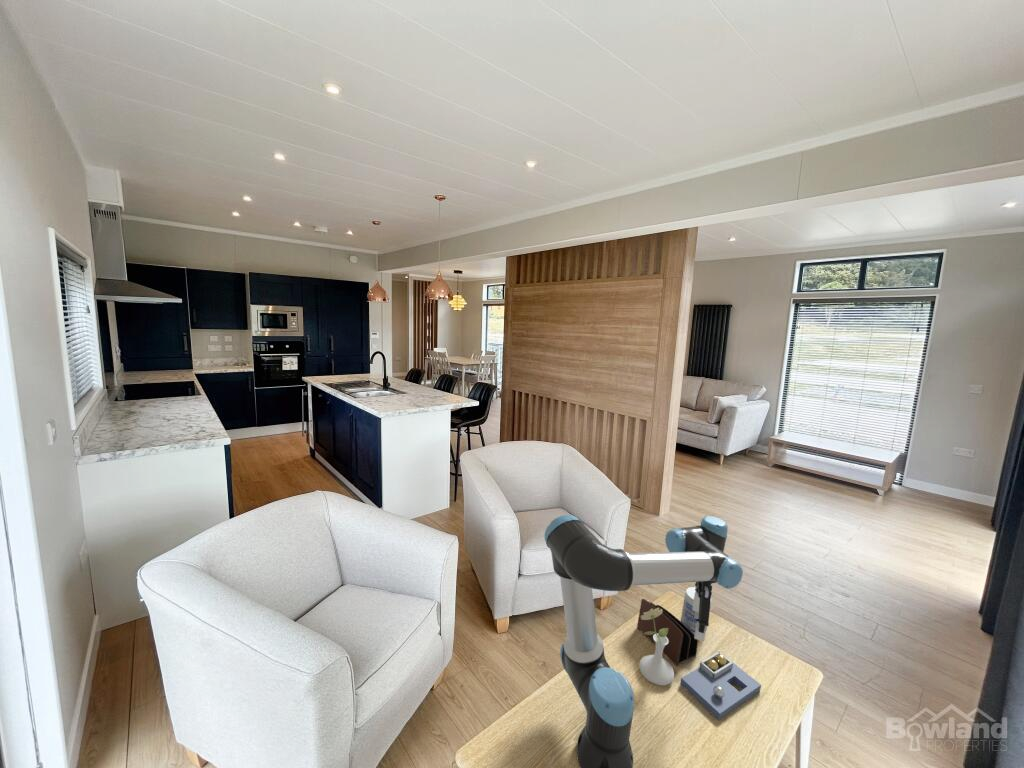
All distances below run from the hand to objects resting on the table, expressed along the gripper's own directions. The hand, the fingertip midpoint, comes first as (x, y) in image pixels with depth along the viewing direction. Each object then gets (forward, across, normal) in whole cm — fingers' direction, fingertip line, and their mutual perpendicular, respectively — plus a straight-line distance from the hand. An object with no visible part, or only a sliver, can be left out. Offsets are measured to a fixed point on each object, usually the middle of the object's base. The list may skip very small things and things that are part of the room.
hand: (697, 624), depth 136 cm
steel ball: (+18, -4, -8) cm, 20 cm away
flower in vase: (+23, -1, +11) cm, 25 cm away
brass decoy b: (+18, +10, -10) cm, 23 cm away
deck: (+22, +3, -10) cm, 25 cm away
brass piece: (+18, +6, -8) cm, 20 cm away
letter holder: (+23, +16, +7) cm, 29 cm away
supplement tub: (+22, +29, -3) cm, 37 cm away
